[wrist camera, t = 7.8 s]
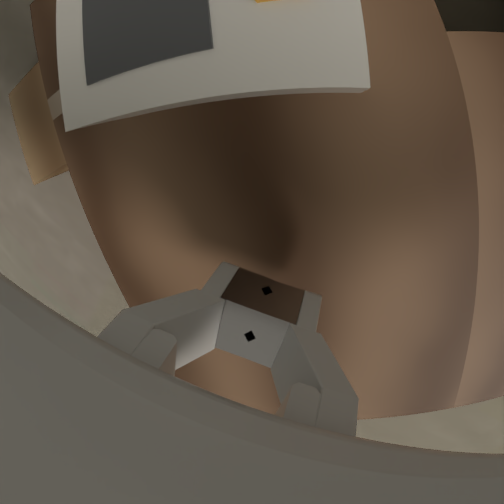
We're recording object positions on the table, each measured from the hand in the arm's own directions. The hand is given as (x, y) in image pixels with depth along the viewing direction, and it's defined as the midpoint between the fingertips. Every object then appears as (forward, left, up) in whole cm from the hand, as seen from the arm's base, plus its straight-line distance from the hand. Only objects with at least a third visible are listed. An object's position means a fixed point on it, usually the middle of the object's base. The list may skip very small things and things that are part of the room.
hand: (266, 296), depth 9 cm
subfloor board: (+3, +3, -4) cm, 6 cm away
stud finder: (+1, +8, -1) cm, 8 cm away
